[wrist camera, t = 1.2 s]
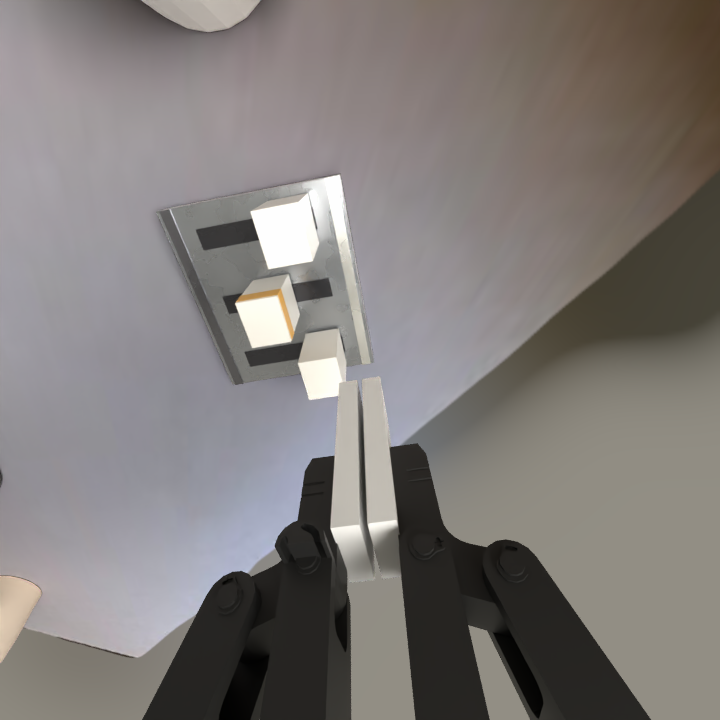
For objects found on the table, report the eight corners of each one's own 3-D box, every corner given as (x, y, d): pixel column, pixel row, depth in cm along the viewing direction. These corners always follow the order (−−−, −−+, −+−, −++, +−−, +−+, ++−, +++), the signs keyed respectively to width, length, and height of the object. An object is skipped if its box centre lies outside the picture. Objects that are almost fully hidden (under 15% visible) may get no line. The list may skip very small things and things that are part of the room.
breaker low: (315, 367, 33) (309, 399, 29) (305, 333, 31) (297, 363, 27) (346, 362, 33) (345, 394, 28) (338, 328, 31) (336, 357, 27)
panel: (238, 373, 36) (232, 385, 34) (168, 207, 28) (155, 212, 26) (372, 351, 35) (373, 363, 33) (340, 173, 27) (339, 175, 25)
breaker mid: (266, 320, 30) (252, 348, 26) (252, 280, 29) (234, 303, 24) (300, 314, 30) (291, 342, 26) (288, 273, 28) (277, 295, 24)
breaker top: (281, 250, 27) (268, 269, 23) (267, 200, 25) (250, 211, 21) (319, 243, 27) (312, 261, 23) (307, 193, 25) (298, 202, 21)
